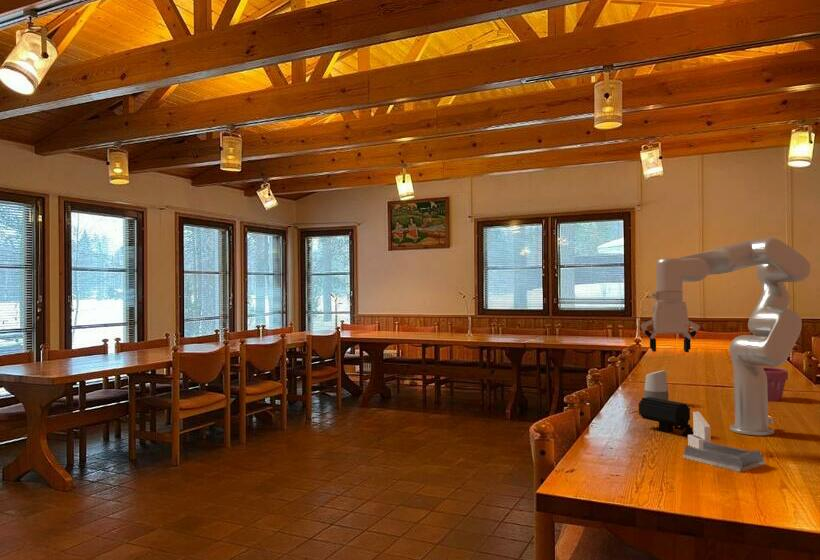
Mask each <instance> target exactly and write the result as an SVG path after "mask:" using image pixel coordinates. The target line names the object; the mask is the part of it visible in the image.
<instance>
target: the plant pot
mask: <svg viewBox="0 0 820 560" xmlns="http://www.w3.org/2000/svg"><path fill="white" fill-rule="evenodd" d="M762 367H763V369H764V371H765V373H766V376H767V394H768V402H779V401H781V400H782V397H783V393H784V390H785V385H786V381H787V380H789V373H788V370H787V369H784V368H777V367H767V366H762Z"/></svg>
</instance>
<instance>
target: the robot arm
mask: <svg viewBox="0 0 820 560" xmlns="http://www.w3.org/2000/svg"><path fill="white" fill-rule="evenodd" d="M753 266H756V269H755V270H756V276H757V278H758V280H759V283H760V287H761V295H760V298H759V300H758V302H757V303H756V305H755V307H754V309H753V310H752V313H751V315H750V316H749V319H748V322H747V328H748V330H749V332H750V333H752V334H753V335H752V334H743V335H738V336H736V337H734V338H733V339H732V341H731V342H730V345H729V355H730V359H731V364H732V368H733V391H734V392H733V394H734V397H733V398H734V400H733V401H734V403H733V404H734V424H730V426H729V430H730V431H732V432H734V433H738V434H741V435H749V436H772V435H774V434H775V429H774V428H772V427H770V426H769V424H772V423H774V418H773V417H772V416H769V404H768V403H769V401H768V394H767V376H766V373H765V371H764V369H763V367H767V368H777V367H781V366H782V365H783V364H785V362H786V361H787V360H788V358H789V356H790V354H791V353H792V350H793V348H794V347H795V346H796V343H797V341H798V338H799V337H800V335H801V331H802V327H803V323H802V321H803V320H802V318H801V316H800V314H799V313H798V312H797V311H796V310H794V309H791V308H788V307H789V306H790V302H791V296H790V293H789V291H788V289H787V287H786V285H785V283H796V282H797V283H798V282H802V281H804V280H806V279H807V278H808V277H810V275H811V269H812V268H811V264H810V261H809V260H808V259H807V258H806V257H805V256H804V255H803V254H801V253H800V252H799V251H798V250H796V249H794V248H793V247H792V246H790V245H788V244H787V243H786V242H784V241H782V240H779V239H777V238H774V237H765V238H755V239H748V240H745V241H742V242H737V243H734V244H733V243H732V244H730V245H725V246H721V247H717V248H714V249H710V250H706V251H702V252H698V253H694V254H693V253H692V254H690V255H686V256H681V257H677V258H676V257H673V258H672V257H668V258H665V257H664V258H659V259H658V260H657V261H656V267H655V268H656V291H655V293H651V298H653V299H656V301H654V302H653V309H652V316H651V317H652V318H651V319H650V320H648V321H645V322H644V323H641V324H640V328H641V330H642V331H643V333H644V334H645V335H646V336H647V337H648V338H649V349H650V350H651V352H653V353H654V352H657V339H656V336H657V335H658V334H682V336H683V337H684V339H683V352H685V353H690V350H691V347H692V346H691V340H692V338H693V337H694V336H695V335H697V332H698V331H699V329H700V328H701V327H700V325H699V324H697V323H695V322H693V321H691V320H689V315H688V313H689V312H688V307H687V303H686V301H683V297H684V296H683V294H684V293H683V282H684V283H687V282H690V283H691V282H694V283H695V282H700V281H703V280H704V279H706V278H707V277H708V276H710V275H721V274H729V273H733V272H735V271H738V270H742V269H746V268H749V267H753ZM649 326H651V329H652V331H651V332H650V331H649V330H648V328H647V327H649ZM690 327H692V330H691V331H689V328H690Z"/></svg>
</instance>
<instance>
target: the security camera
mask: <svg viewBox="0 0 820 560" xmlns="http://www.w3.org/2000/svg"><path fill="white" fill-rule="evenodd" d="M638 415H640V417H641V418H642V419H645V420H648V421H653V422H658V427H657V428H656V430H657V431H659V432H664V433H668V434H669V433H674V430H678V431H682V432H681V433H680V437H685V438H688V435H694V431H693V427H691V424H689V422H690V420H691V408H690V407H689V405H687V403H684V402H679V401H674V400H669V399H668V400H663V399H658V398H652V397H646V398H645V397H641V400H640V401H639V402H638Z"/></svg>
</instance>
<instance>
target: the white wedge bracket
mask: <svg viewBox="0 0 820 560" xmlns="http://www.w3.org/2000/svg"><path fill="white" fill-rule="evenodd" d="M692 420H693V421H692V423H693V424H692V425H693V427H692V431H693V432H694V435H688V437H687V446H689V445H690V447H691V446H692V447H695V448H699V449H703V442H710V443H712V442H711V440H712V439H711V438H712V437H711V426H710V425H709V423H708V422H707V420H706V419H705V418H704V416H703V415H702V414H701V412H700V411H692Z"/></svg>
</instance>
